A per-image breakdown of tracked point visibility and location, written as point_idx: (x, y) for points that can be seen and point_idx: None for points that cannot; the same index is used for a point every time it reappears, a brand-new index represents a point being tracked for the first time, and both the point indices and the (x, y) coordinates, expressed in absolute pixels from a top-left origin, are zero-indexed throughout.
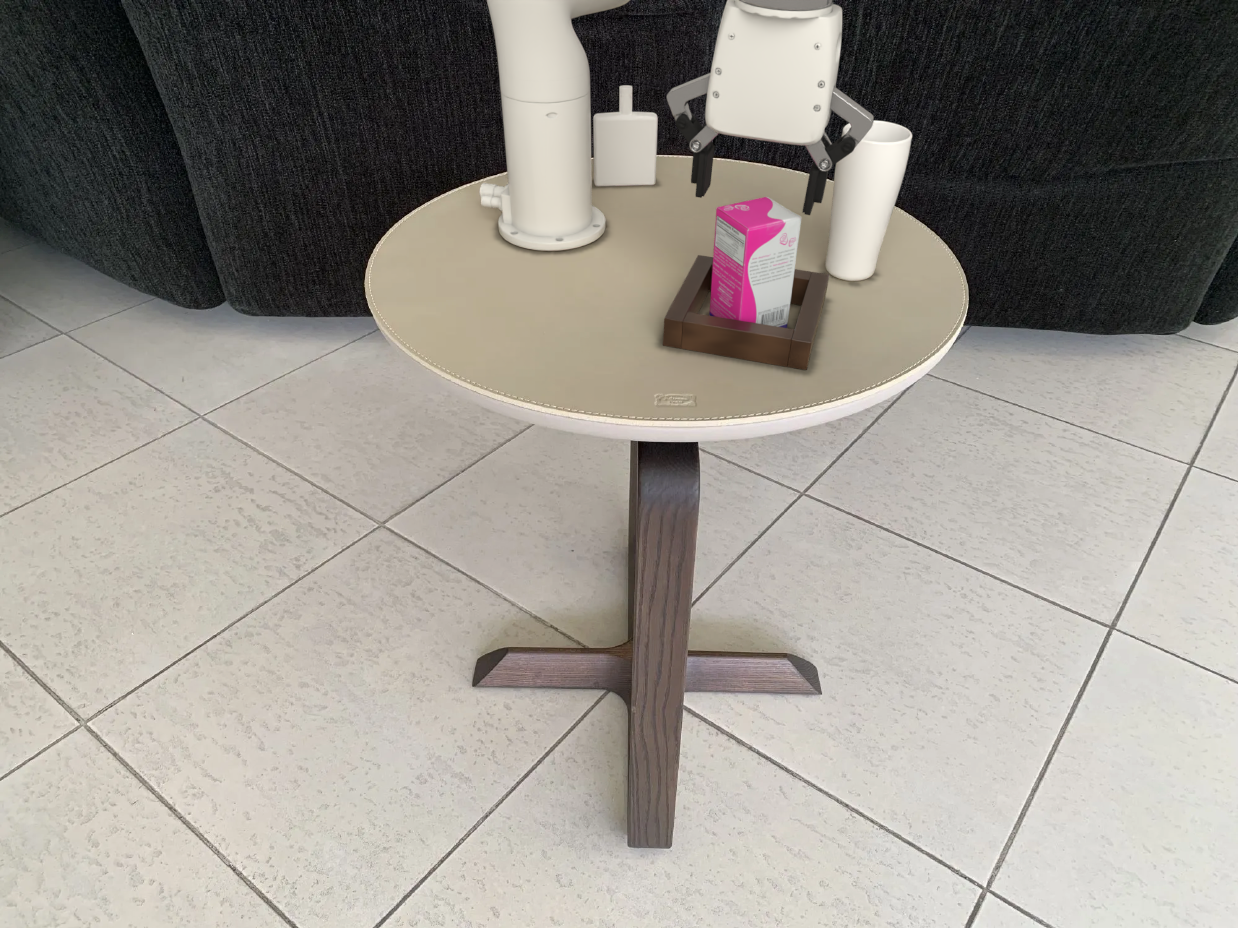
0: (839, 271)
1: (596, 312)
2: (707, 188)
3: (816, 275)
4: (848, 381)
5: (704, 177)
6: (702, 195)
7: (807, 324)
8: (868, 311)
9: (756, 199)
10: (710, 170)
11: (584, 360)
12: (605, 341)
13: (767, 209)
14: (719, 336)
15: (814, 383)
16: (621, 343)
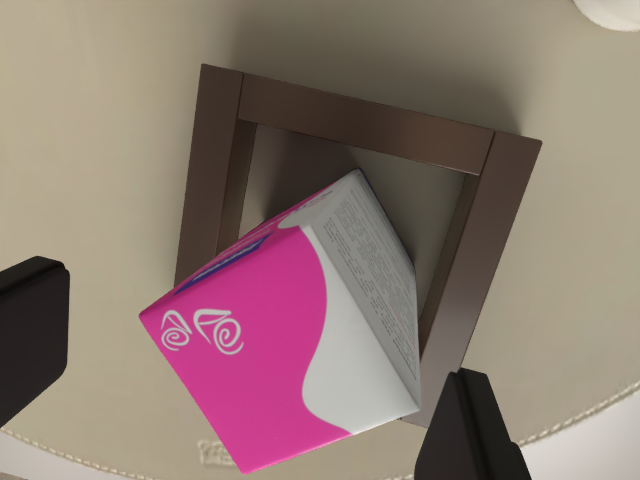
0: (595, 17)
1: (64, 220)
2: (62, 316)
3: (504, 153)
4: None
5: (5, 420)
6: (58, 375)
7: (439, 374)
8: (620, 178)
9: (266, 259)
10: (13, 327)
11: (85, 362)
12: (101, 311)
13: (304, 347)
14: None
15: None
16: (127, 317)
